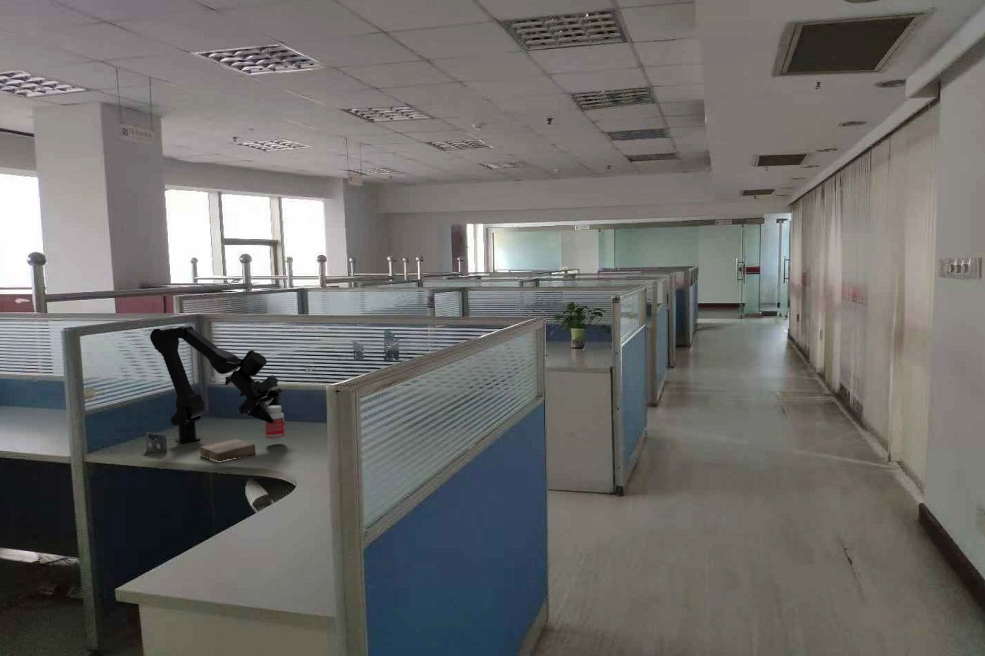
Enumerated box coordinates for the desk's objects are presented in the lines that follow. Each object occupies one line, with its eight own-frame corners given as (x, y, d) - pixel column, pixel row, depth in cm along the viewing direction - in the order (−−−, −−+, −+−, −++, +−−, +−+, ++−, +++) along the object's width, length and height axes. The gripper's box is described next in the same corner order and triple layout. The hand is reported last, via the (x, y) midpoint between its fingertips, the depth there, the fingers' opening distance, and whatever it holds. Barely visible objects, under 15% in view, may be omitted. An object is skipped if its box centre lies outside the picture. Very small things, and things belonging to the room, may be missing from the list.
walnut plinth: (200, 456, 227) (200, 446, 226) (236, 447, 235) (236, 438, 235) (219, 463, 219) (218, 453, 218) (255, 454, 227) (255, 445, 227)
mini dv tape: (167, 452, 232) (165, 434, 231) (163, 454, 230) (161, 435, 230) (150, 449, 236) (149, 431, 235) (146, 451, 234) (145, 432, 234)
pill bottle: (287, 440, 237) (286, 407, 235) (268, 443, 233) (267, 409, 232) (281, 436, 242) (280, 403, 241) (263, 439, 238) (261, 406, 237)
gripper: (244, 374, 227) (277, 410, 225) (276, 364, 245) (307, 397, 243) (223, 397, 230) (256, 433, 228) (257, 386, 248) (287, 419, 246)
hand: (278, 420), depth 236 cm, fingers closed on pill bottle, 6 cm apart
